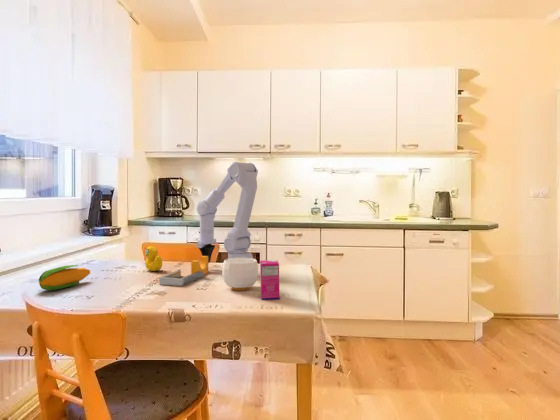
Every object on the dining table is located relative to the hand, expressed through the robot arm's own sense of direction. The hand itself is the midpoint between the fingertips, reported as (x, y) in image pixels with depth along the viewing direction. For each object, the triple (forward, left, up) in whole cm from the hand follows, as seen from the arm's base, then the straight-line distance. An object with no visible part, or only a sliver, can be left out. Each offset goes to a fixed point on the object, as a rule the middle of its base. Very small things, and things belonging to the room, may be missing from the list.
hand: (206, 262), depth 174 cm
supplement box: (-38, +34, -3) cm, 51 cm away
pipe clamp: (-1, +10, -3) cm, 10 cm away
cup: (-25, +26, -3) cm, 36 cm away
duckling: (+20, +9, -3) cm, 22 cm away
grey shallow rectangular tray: (0, +22, -3) cm, 22 cm away
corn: (+34, +41, -3) cm, 53 cm away
